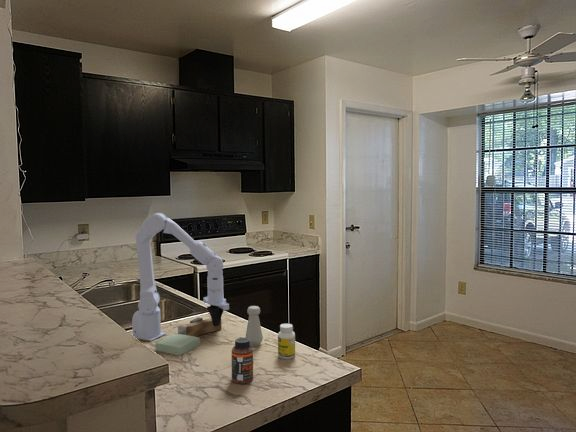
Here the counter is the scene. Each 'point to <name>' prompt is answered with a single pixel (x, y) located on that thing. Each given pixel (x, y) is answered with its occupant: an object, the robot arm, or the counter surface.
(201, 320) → the leg stop
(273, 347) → the counter surface
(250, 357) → the supplement bottle
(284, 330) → the supplement bottle
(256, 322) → the salt shaker
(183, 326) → the folding leg
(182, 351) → the stool seat
